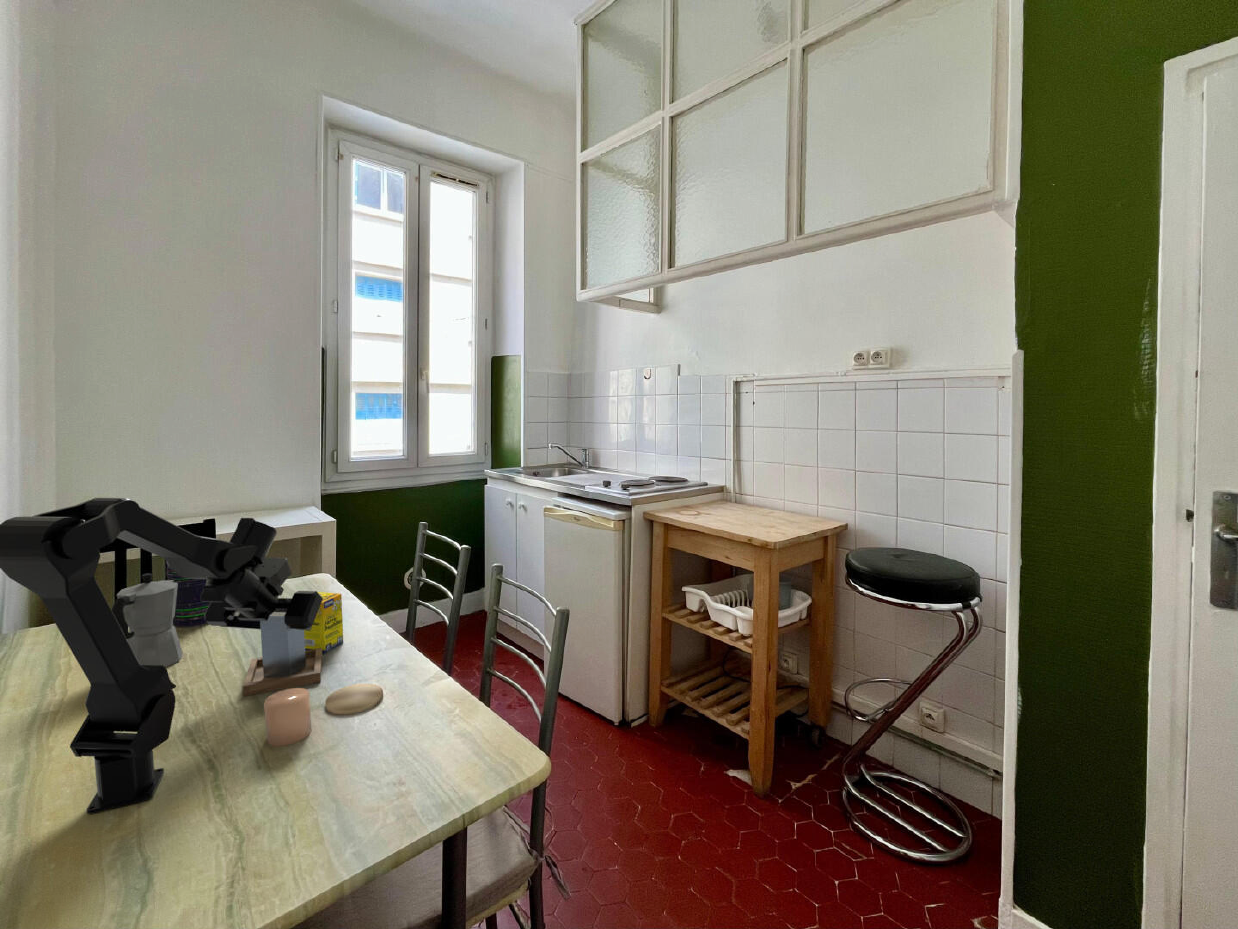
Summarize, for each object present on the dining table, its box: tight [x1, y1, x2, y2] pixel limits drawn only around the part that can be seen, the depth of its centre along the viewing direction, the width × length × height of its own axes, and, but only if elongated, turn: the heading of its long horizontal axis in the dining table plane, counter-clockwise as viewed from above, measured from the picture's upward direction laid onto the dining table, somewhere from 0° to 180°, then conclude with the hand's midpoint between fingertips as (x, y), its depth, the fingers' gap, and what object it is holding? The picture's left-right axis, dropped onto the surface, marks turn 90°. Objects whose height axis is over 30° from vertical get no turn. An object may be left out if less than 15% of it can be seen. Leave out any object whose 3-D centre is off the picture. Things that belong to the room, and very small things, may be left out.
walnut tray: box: [242, 648, 323, 697], centre depth 108 cm, size 12×12×2 cm
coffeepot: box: [111, 572, 184, 668], centre depth 111 cm, size 15×9×18 cm, turn 6°
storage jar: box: [165, 560, 211, 628], centre depth 135 cm, size 10×10×15 cm
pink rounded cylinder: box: [263, 687, 312, 747], centre depth 89 cm, size 6×6×6 cm
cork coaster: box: [325, 683, 384, 716], centre depth 99 cm, size 9×9×1 cm
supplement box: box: [304, 591, 344, 655], centre depth 120 cm, size 6×6×11 cm
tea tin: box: [260, 612, 306, 678], centre depth 108 cm, size 5×5×13 cm
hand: (286, 627), depth 109 cm, fingers open, 9 cm apart
